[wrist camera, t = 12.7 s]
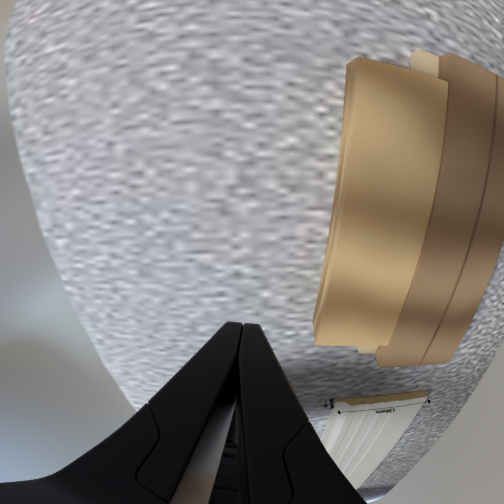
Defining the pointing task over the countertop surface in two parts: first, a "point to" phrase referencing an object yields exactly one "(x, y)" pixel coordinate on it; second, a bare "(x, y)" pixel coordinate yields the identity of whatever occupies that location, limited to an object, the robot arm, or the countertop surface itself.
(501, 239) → the floor board
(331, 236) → the plank
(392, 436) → the baseboard molding
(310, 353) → the countertop surface
